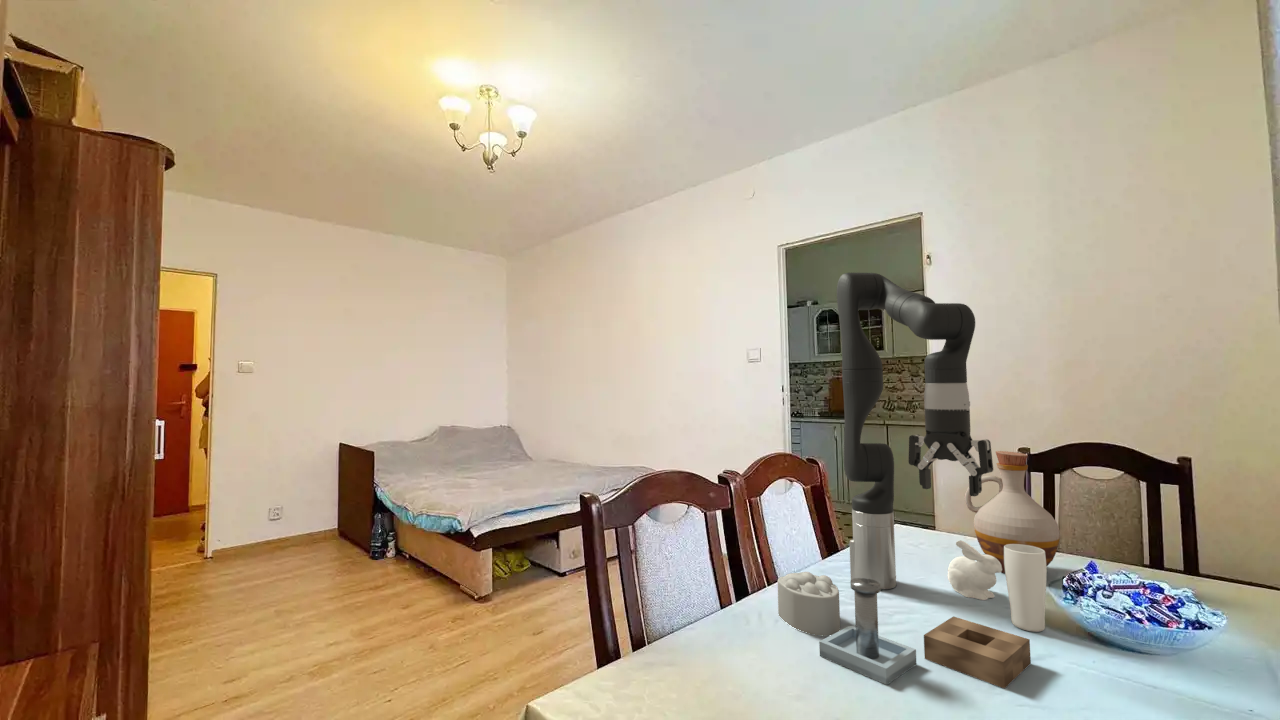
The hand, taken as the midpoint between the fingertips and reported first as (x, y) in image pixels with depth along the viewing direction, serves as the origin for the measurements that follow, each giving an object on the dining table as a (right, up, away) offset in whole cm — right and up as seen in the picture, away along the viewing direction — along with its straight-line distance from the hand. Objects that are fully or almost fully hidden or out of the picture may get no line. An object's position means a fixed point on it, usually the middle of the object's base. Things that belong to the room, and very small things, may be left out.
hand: (949, 492), depth 102 cm
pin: (-20, -26, -10) cm, 34 cm away
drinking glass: (+16, -27, +2) cm, 32 cm away
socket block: (-2, -26, -11) cm, 28 cm away
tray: (-20, -27, -10) cm, 35 cm away
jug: (+35, -29, +33) cm, 56 cm away
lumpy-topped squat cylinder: (-25, -28, +6) cm, 38 cm away
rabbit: (+16, -28, +18) cm, 37 cm away
